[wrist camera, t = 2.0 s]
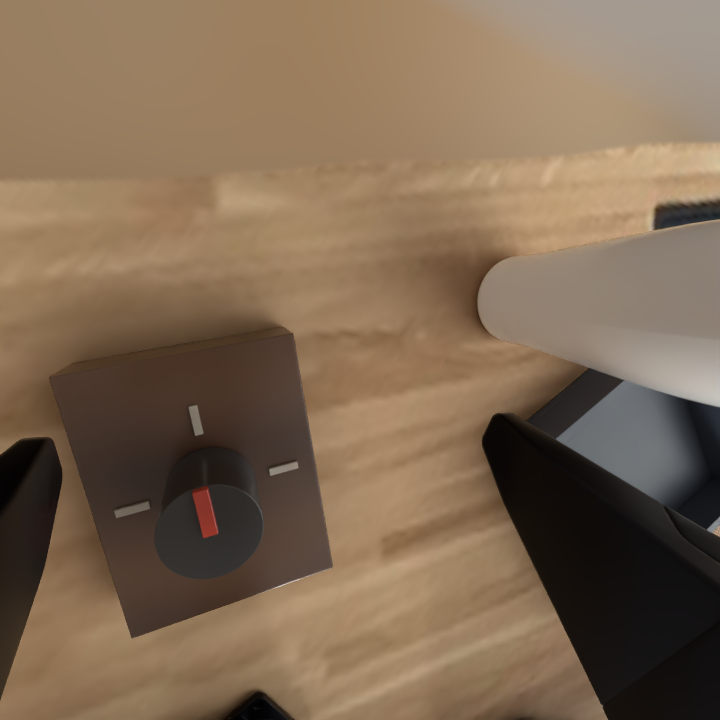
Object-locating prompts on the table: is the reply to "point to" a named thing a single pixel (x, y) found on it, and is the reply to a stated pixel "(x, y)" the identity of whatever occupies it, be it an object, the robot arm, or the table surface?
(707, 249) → the drinking glass
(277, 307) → the table surface
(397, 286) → the table surface
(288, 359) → the control box
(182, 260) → the table surface
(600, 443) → the tray
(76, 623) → the table surface
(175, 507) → the dial
